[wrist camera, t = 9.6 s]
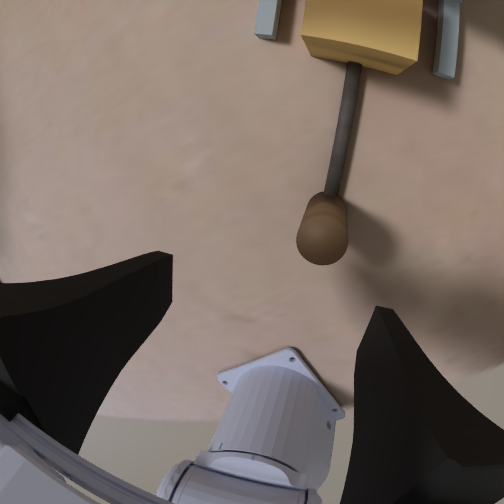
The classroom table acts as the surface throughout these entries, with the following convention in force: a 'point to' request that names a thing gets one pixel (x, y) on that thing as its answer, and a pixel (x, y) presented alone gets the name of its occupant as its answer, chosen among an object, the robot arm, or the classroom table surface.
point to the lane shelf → (444, 41)
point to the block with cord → (351, 94)
